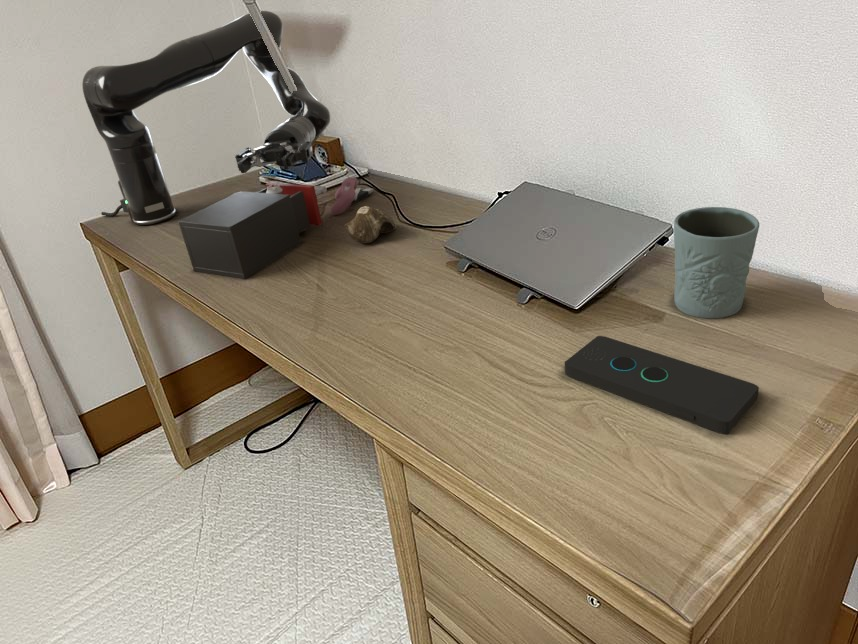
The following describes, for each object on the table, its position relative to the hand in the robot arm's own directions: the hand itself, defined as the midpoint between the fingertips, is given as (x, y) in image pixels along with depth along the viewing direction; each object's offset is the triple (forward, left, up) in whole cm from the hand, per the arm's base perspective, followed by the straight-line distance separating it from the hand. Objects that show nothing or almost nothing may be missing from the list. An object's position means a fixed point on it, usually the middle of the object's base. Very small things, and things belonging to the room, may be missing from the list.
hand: (263, 166), depth 128 cm
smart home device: (+78, -26, -15) cm, 84 cm away
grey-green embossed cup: (+80, -5, -15) cm, 82 cm away
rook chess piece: (-1, +2, -13) cm, 13 cm away
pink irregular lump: (+3, +18, -15) cm, 24 cm away
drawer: (-1, +3, -14) cm, 14 cm away
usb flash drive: (+1, +23, -15) cm, 28 cm away
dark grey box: (-1, -9, -15) cm, 17 cm away
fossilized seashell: (+18, +5, -15) cm, 24 cm away
